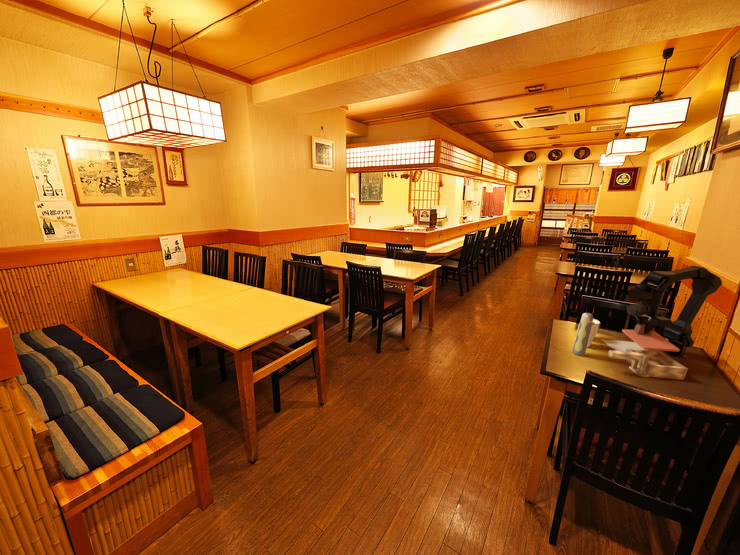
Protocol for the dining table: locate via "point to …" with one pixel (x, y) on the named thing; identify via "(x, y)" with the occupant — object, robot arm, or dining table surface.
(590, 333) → the can
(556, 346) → the dining table surface
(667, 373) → the toolbox
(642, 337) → the lid
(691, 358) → the dining table surface
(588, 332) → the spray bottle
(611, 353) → the tan wooden bar
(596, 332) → the white cup
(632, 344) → the mat
